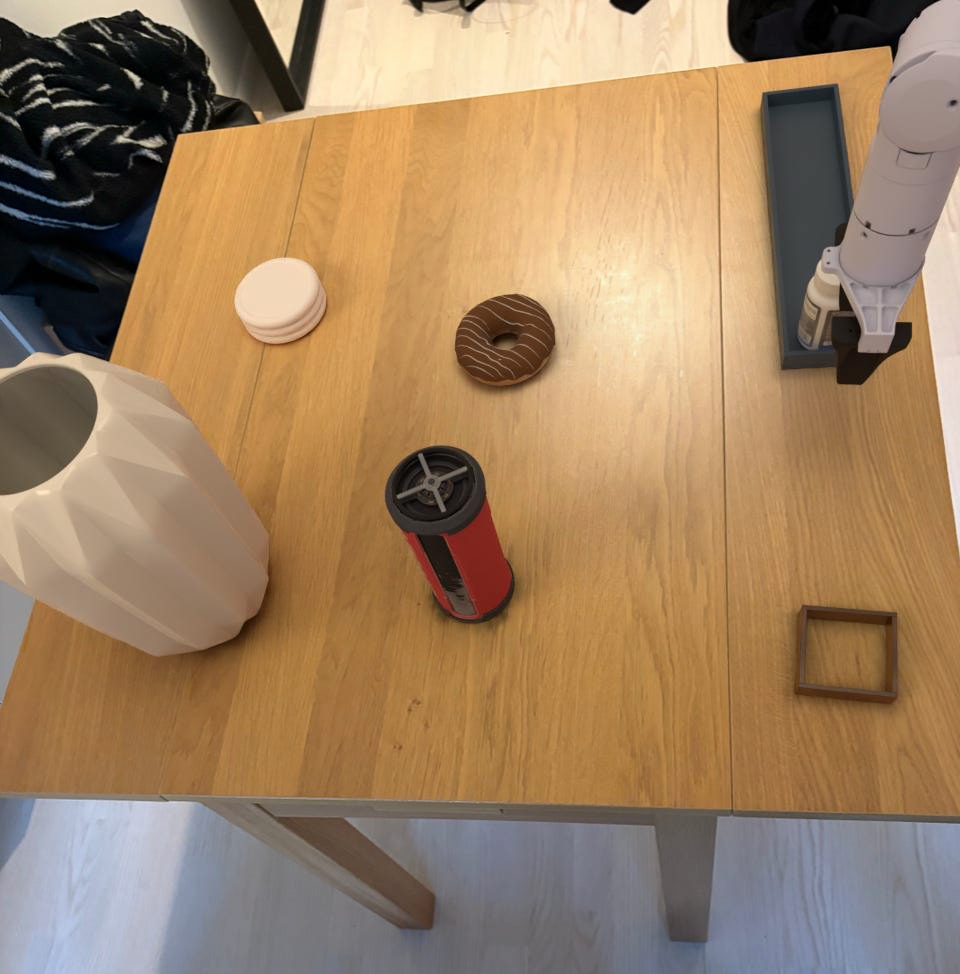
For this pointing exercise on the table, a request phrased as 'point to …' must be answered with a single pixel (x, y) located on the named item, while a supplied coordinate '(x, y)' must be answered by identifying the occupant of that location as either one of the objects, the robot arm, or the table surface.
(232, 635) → the vase
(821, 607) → the brown wooden square frame
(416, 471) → the speaker
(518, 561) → the table surface
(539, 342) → the donut
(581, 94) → the table surface
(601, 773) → the table surface
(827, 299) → the pill bottle
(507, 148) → the table surface
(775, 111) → the tray
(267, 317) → the pale pink macaron
